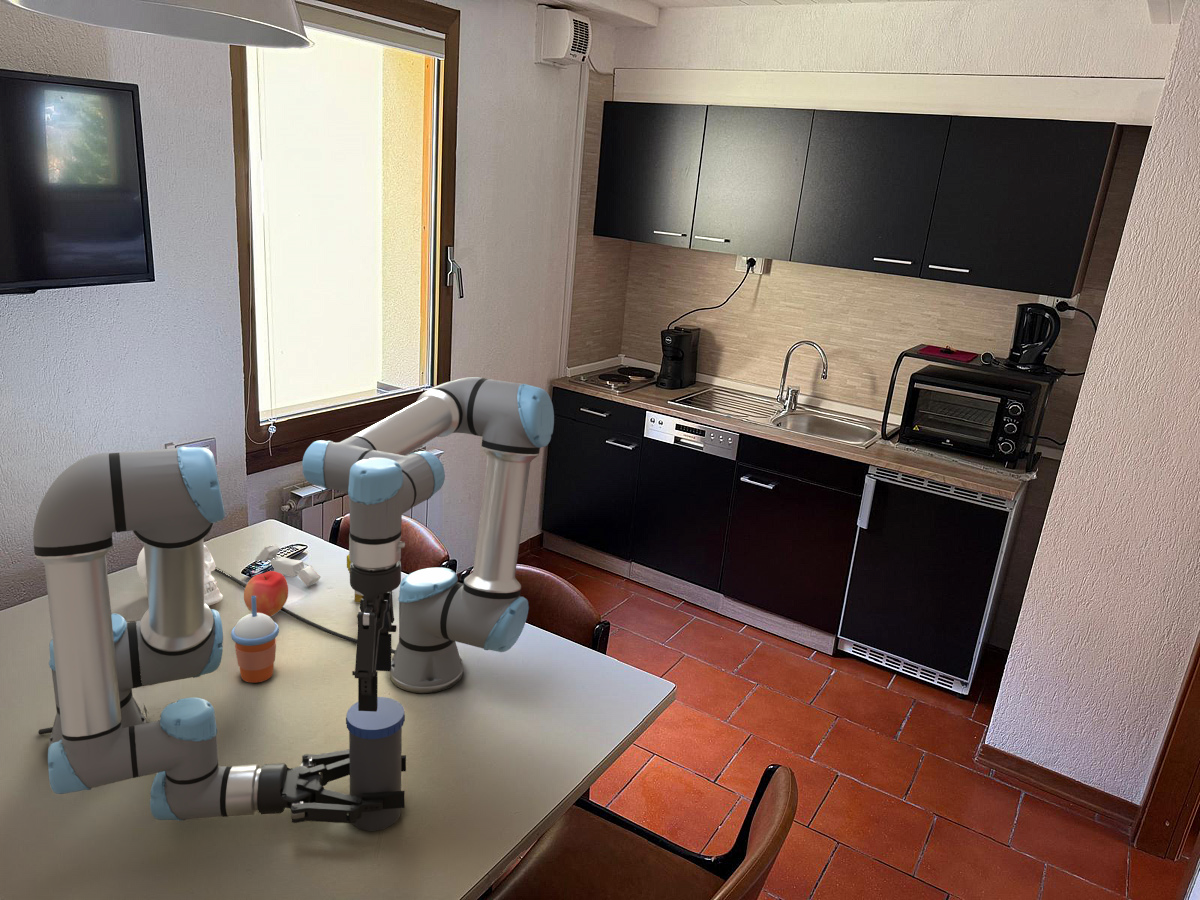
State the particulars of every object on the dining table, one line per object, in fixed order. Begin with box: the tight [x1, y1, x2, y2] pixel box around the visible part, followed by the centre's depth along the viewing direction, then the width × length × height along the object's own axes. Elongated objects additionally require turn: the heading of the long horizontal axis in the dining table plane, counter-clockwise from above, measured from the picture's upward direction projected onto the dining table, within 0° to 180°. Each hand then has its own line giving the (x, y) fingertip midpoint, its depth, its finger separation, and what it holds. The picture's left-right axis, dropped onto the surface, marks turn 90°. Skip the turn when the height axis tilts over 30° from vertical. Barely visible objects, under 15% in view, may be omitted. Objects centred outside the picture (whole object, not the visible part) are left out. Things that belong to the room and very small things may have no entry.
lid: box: [345, 696, 406, 739], centre depth 136 cm, size 9×9×2 cm
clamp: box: [254, 544, 322, 587], centre depth 219 cm, size 20×4×7 cm, turn 62°
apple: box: [243, 570, 289, 618], centre depth 199 cm, size 10×10×10 cm
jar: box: [348, 726, 403, 832], centre depth 139 cm, size 8×8×19 cm
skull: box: [136, 544, 224, 607], centre depth 203 cm, size 13×22×16 cm, turn 73°
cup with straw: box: [230, 596, 280, 684], centre depth 174 cm, size 9×9×18 cm
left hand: (405, 780), depth 141 cm, fingers closed on jar, 8 cm apart
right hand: (375, 689), depth 135 cm, fingers open, 10 cm apart
